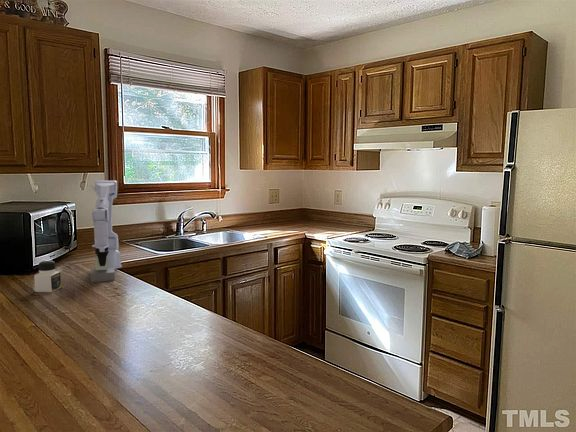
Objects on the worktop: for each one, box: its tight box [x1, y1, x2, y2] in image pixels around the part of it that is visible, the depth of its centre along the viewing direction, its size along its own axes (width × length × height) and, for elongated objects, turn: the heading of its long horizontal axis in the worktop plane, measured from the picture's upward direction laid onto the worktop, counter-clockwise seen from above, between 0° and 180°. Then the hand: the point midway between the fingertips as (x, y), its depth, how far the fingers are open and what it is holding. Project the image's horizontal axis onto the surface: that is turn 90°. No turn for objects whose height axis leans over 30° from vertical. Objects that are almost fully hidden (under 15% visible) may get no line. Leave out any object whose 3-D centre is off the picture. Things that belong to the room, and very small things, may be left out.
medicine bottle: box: [33, 260, 62, 293], centre depth 182 cm, size 7×7×12 cm
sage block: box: [94, 256, 108, 270], centre depth 201 cm, size 5×5×5 cm
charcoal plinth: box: [89, 267, 116, 283], centre depth 202 cm, size 10×10×4 cm
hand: (102, 264), depth 201 cm, fingers closed on sage block, 5 cm apart
